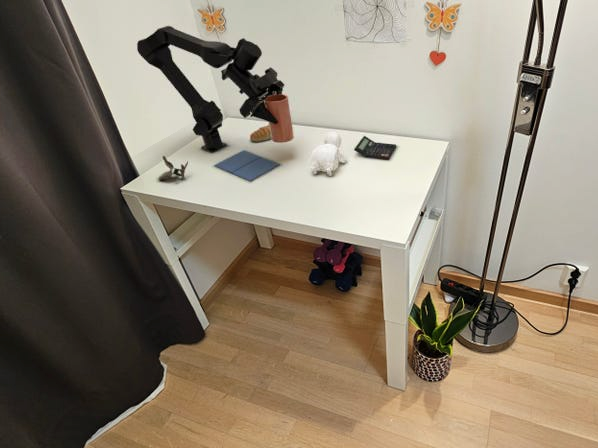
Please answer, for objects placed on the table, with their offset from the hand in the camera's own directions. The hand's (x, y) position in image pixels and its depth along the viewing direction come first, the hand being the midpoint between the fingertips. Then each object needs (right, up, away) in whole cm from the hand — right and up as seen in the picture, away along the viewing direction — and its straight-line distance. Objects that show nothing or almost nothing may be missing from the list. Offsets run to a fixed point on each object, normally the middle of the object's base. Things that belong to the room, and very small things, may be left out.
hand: (283, 118), depth 123 cm
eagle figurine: (-35, -18, +2) cm, 39 cm away
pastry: (-11, -1, +22) cm, 24 cm away
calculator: (+29, -9, +8) cm, 31 cm away
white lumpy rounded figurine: (+14, -14, +3) cm, 20 cm away
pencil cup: (-1, -5, +4) cm, 7 cm away
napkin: (-13, -14, +5) cm, 20 cm away
